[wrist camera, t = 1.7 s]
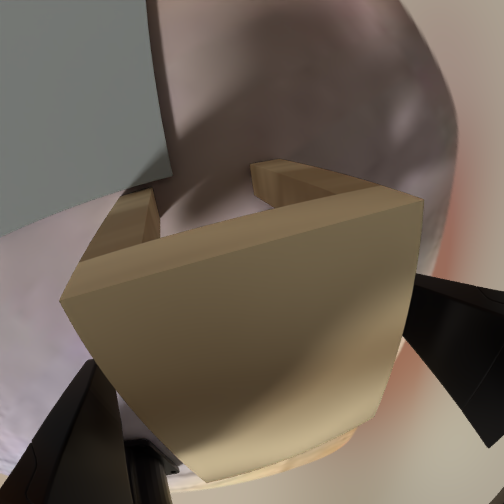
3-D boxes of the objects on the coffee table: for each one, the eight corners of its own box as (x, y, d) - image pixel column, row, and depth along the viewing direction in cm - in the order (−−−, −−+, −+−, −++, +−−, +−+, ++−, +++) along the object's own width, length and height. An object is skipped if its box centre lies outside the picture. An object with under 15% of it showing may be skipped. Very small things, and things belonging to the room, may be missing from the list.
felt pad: (172, 174, 9) (172, 176, 9) (-49, 262, 6) (-53, 266, 6) (142, -70, 4) (143, -75, 3) (-70, 45, 1) (-74, 44, 1)
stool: (295, 315, 13) (373, 417, 8) (177, 352, 12) (206, 482, 6) (279, 158, 10) (424, 200, 4) (120, 196, 9) (59, 300, 3)
